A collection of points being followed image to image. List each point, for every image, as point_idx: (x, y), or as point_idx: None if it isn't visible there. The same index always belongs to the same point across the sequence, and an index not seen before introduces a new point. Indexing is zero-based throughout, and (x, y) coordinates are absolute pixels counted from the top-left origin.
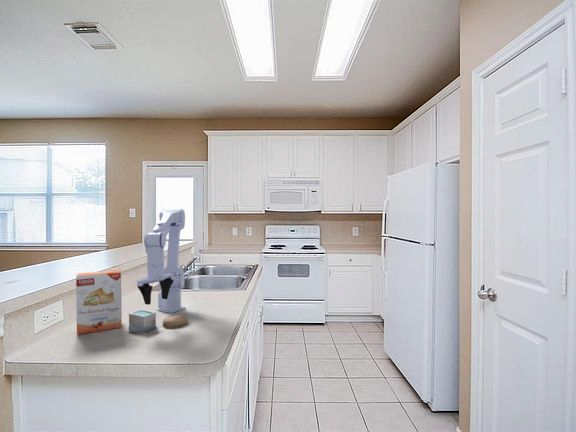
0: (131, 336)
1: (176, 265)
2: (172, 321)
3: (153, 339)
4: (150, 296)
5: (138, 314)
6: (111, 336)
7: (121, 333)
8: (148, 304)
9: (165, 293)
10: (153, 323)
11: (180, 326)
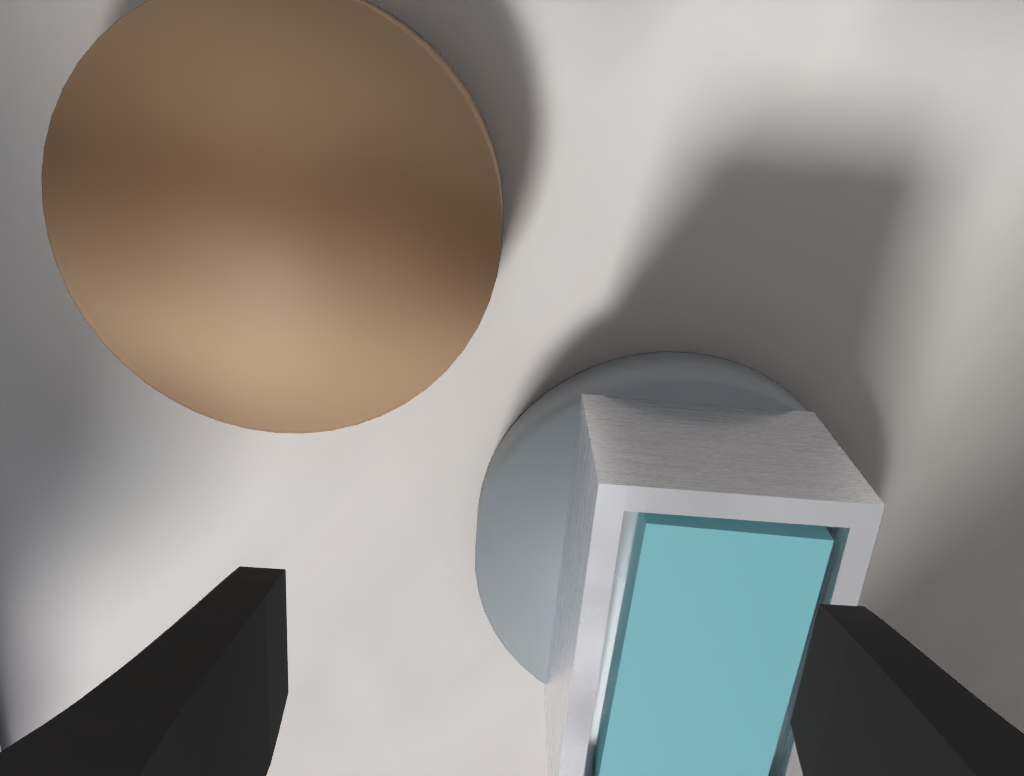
0: (944, 439)
1: None
2: (399, 179)
3: (989, 24)
4: (948, 736)
5: (768, 690)
6: (992, 662)
7: None
8: (874, 614)
9: (233, 700)
10: (628, 401)
11: (368, 3)
